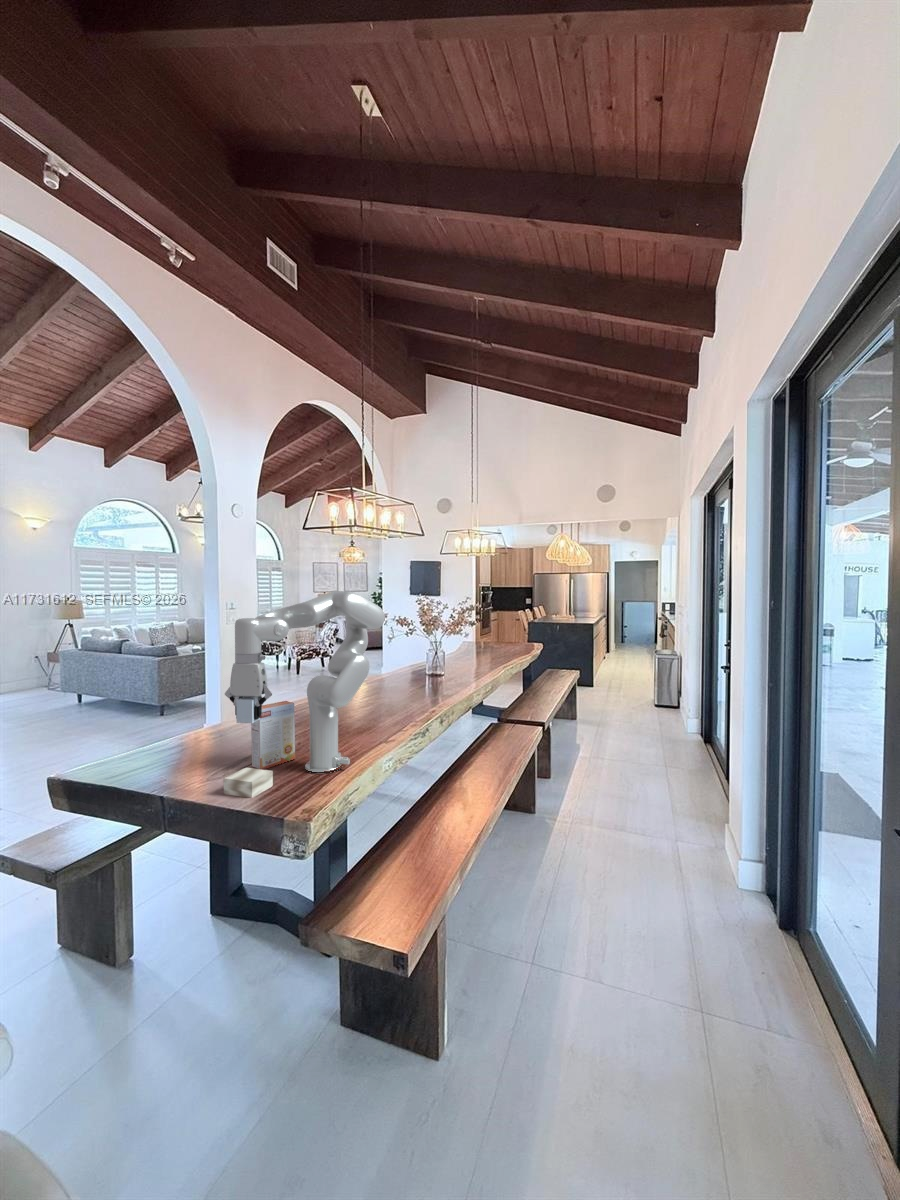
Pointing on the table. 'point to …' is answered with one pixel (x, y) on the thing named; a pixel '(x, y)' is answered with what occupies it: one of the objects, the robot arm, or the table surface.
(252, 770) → the ash base block
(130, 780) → the table surface
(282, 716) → the cracker box
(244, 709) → the blue-grey block
